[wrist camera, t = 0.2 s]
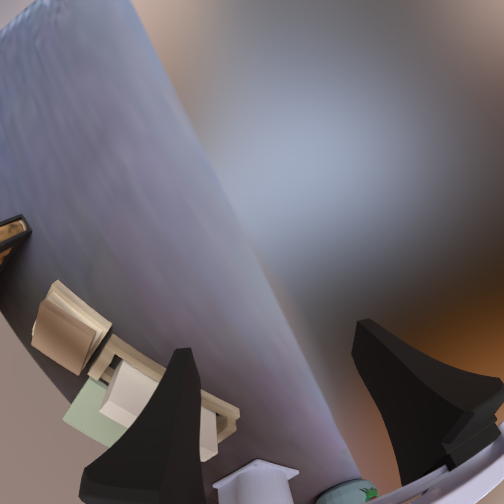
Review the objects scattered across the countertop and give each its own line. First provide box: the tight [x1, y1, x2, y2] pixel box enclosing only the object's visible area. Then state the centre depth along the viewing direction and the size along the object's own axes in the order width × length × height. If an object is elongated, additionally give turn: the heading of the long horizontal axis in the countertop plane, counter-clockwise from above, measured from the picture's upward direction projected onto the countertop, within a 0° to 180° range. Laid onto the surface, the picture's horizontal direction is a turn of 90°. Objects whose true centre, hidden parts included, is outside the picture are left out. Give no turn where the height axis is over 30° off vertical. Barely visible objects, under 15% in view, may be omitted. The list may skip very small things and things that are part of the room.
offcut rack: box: [31, 280, 240, 444], centre depth 22 cm, size 6×20×3 cm, turn 49°
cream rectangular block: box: [99, 359, 218, 462], centre depth 21 cm, size 2×10×6 cm, turn 48°
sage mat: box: [62, 376, 128, 448], centre depth 25 cm, size 10×13×1 cm
